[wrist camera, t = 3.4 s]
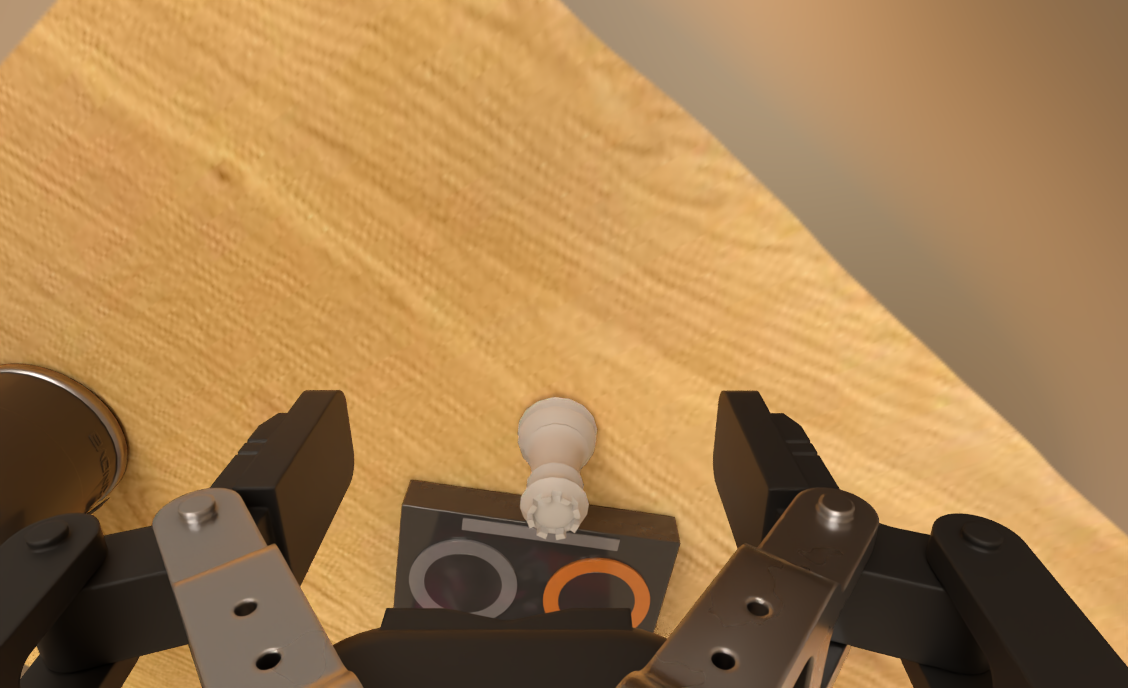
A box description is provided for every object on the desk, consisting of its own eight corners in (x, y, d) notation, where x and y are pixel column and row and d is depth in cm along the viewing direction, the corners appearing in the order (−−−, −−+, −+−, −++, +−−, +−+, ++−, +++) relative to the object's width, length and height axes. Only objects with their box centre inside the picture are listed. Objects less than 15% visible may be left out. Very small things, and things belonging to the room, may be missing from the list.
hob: (400, 603, 45) (390, 636, 42) (410, 479, 41) (400, 507, 38) (640, 635, 46) (644, 668, 43) (675, 516, 41) (681, 546, 39)
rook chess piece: (522, 462, 40) (511, 559, 33) (514, 395, 38) (499, 481, 31) (599, 458, 40) (604, 553, 32) (594, 390, 38) (599, 475, 31)
